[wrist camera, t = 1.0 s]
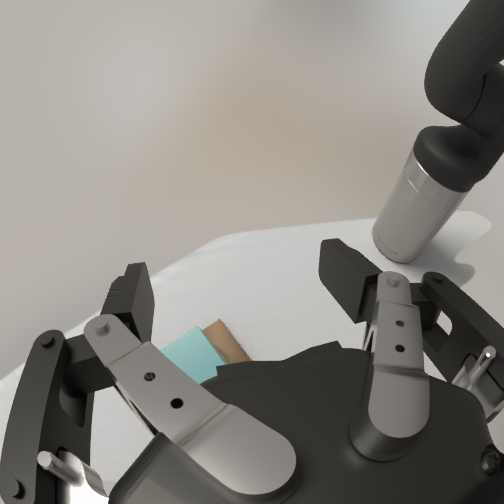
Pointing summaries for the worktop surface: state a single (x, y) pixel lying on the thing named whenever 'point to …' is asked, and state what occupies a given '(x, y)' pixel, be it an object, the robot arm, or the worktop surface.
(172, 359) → the teal block
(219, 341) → the walnut base
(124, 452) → the worktop surface
